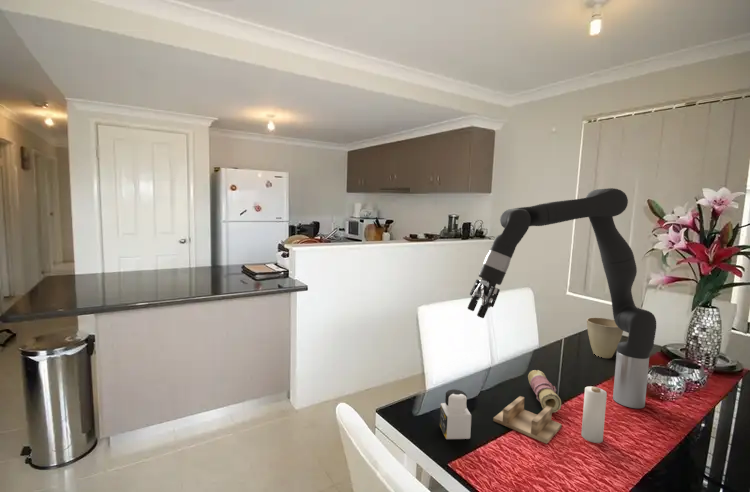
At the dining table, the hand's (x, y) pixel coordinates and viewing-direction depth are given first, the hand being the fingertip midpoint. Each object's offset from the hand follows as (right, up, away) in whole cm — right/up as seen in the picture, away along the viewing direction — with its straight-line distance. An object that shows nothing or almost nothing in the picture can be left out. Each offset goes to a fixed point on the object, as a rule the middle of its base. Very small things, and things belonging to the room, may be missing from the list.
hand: (475, 313), depth 122 cm
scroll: (+26, -32, +9) cm, 42 cm away
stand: (+14, -33, -7) cm, 36 cm away
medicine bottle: (-9, -33, -12) cm, 36 cm away
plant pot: (+73, -29, +53) cm, 95 cm away
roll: (+30, -34, -13) cm, 47 cm away
